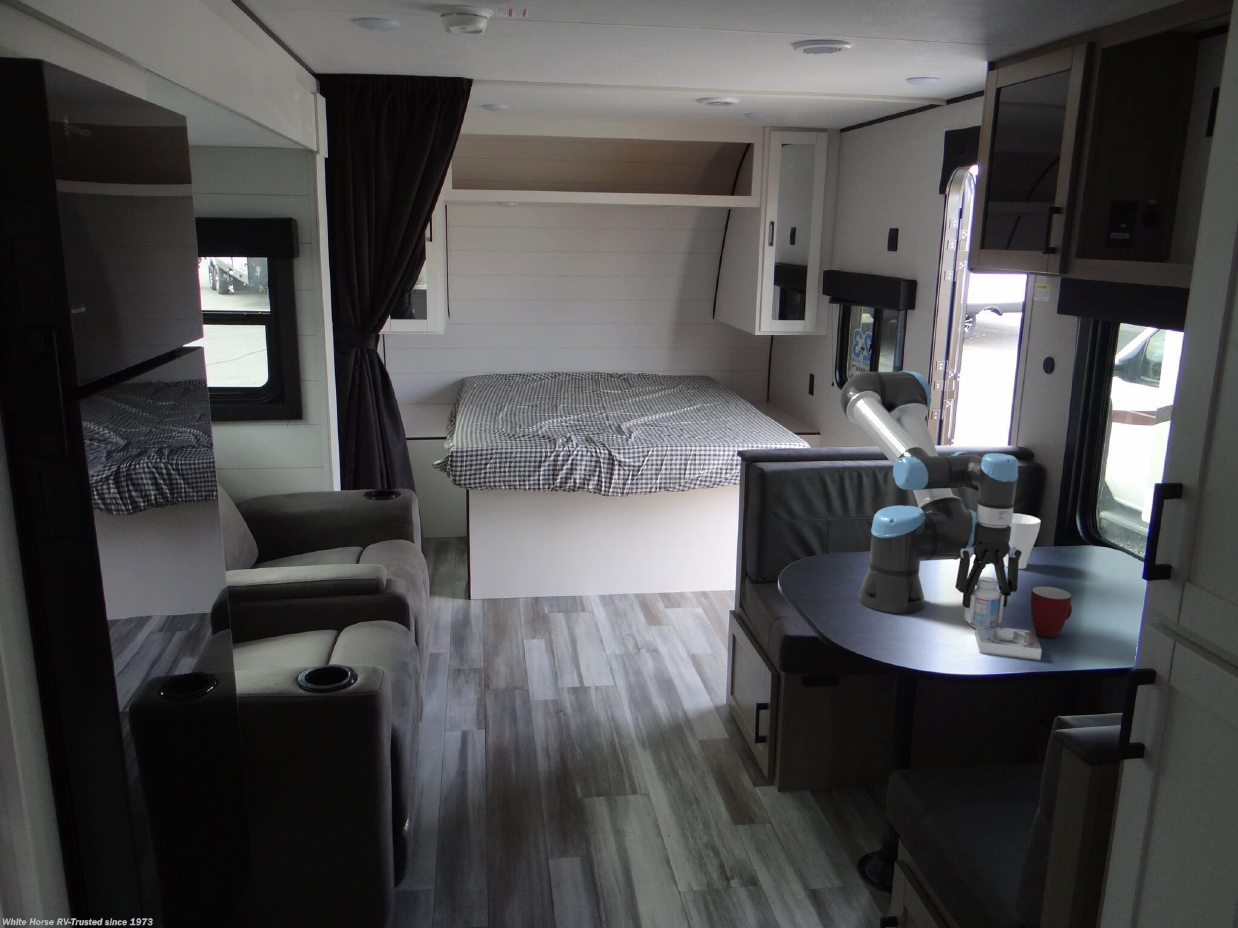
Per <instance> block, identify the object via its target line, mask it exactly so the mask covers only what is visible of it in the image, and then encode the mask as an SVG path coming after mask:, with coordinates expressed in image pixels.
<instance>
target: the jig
mask: <svg viewBox="0 0 1238 928" xmlns="http://www.w3.org/2000/svg"><path fill="white" fill-rule="evenodd" d="M974 636H975V640H976V644H977V648H978V652H979V654H985V655H993V656H1001V657H1010V658H1019V659H1027V660H1034V661H1035V660H1037V661H1041V658H1042V657H1041V656H1042V646H1041V644H1040V642H1039V638H1038V637H1037V633H1036V631H1035V630H1027V629H1019V628H1011V627H1010V628H1009V627H1000V626H996V627H993V626H985V625H976V629H975V634H974ZM1002 641H1005V642H1002ZM1009 642H1011V643H1009ZM1012 642H1013V643H1012Z"/></svg>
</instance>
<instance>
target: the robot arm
mask: <svg viewBox="0 0 1238 928" xmlns="http://www.w3.org/2000/svg"><path fill="white" fill-rule="evenodd" d="M930 387H931V386H930V384H929V383H928V381H927V379H926V377H924V376H923V375H922V374H920V373H918V372H916V371H907V370H900V371H862V372H860V373H857V374H855V375H853V376H852V377H850V378H849V379H848V380H847V381H846V382H845V384H844V385H843V386H842V389H841V392H840V395H839V396H840V397H839V403H840V408H841V409H842V413H843V414H844V415H845V417H846V418H847V419H848V420H849V421H850V422H851V423H853V424H855V425H858V426H859V427H860V428H861V429H862V431H863V432H864V433H865V434H866V435H867V436H868V437H869V438H870V439H871V441H872V442H873V443H874V444H875V445H876V446H877V448H878V449H879V450H880V451H881V452H882V453H883V455H884V456H886V457H887V459H888V460H889V462H891V464H892V465H893V467H892V468H893V469H892V477H893V479H894V480H895V481H894V482H895V484H896V486H897V487H898V488H900V489H901V490H912V491H913V493H914V497H915V499H916V502H917V505H918V506H912V505H891V506H887V507H884V508H881V509H879V510H877V512H876V513H875V514H874V516H873V520H872V526H871V530H870V531H871V540H870V552H869V565H868V566H869V567H868V571H867V572H866V575H865V577H864V580H863V581H862V584H861V587H860V588H859V596H858V600H859V601H860V603H861V604H863V605H864V606H866V607H868V608H870V609H873V610H876V611H879V612H880V611H881V612H885V613H889V614H890V613H891V614H911V613H916V612H919V611H921V610H922V609H924V606H925V605H924V604H925V595H924V591H923V588H922V587H923V585H922V582H921V578H920V566H921V565H920V564H921V562H924V561H925V562H928V561H944V560H955V561H957V560H959V564H958V571H957V575H956V580H955V581H956V582H955V589H956V591H957V590H958V591H959V592H960V593H961V594H962V603H961V605H962V606H963V608H964V616H963V618H964V620H965V621H967V622H968V624H969V623H973V615H974V606H975V595H974V594H973V591H974V589H975V587H976V584H977V582H978V579H979V577H981V574H982V572H983V571H984V570H985V568H986V566H987V565H990V564H992V565H993V566H994V571H995V576H996V580H997V581H998V586H997V587H998V591H999V593H1000V599H999V608H998V618H997V624H998V623H999V624H1000V623H1002V620H1003V613H1004V612H1003V610H1004V608H1006V607H1007V606H1008V599H1009V598H1008V597H1010V596H1011V595H1012V593H1016V592H1018V582H1019V569H1018V565H1019V559H1020V556H1021V554H1022V552H1021V551H1020V550H1018V549H1017V548H1015V547H1013V548H1011V547H1010V546H1009V541H1010V535H1011V527H1010V524H1011V523H1012V517H1013V514H1014V504H1015V498H1016V492H1017V491H1016V490H1017V483H1018V478H1019V473H1018V472H1019V460H1018V458H1016V457H1015V456H1014V455H1010V454H1005V453H998V452H997V453H994V452H991V453H985V454H984V455H983V456H979V455H977V454H976V453H975V454H974V453H973V452H967V451H957V452H954V453H952V454H951V455H939V454H938V452H937V451H938V450H937V449H936V446H935V442H934V441H933V437H932V435H931V433H930V430H929V426H928V425H927V421H926V417H927V416H928V412H929V409H930V407H931V402H932V397H931V395H932V391H931V388H930ZM959 488H960V489H963V488H964V489H965V488H967V489H971V490H974V491H977V492H978V494H977V497H978V498H977V505H976V512H975V511H974V510H972V509H966V508H965V505H964V502H963V500H962V499H961V497H959V496H956V495H954V494H953V492H952V489H959ZM1007 554H1008V556H1009V557H1008V567H1007V573H1006V569H1005V564H1004V559H1003V558H1004V557H1005V556H1006V555H1007ZM974 555H975V556H974ZM973 556H974V559H973V563H972V566H971V569H970V565H971V559H972V558H973ZM969 570H970V571H969Z"/></svg>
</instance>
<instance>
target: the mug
mask: <svg viewBox="0 0 1238 928" xmlns="http://www.w3.org/2000/svg"><path fill="white" fill-rule="evenodd" d="M1072 611H1073V609H1072V594H1071V593H1070V592H1068V591H1066V590H1065V589H1062V588H1057V587H1053V586H1035V587H1033V588H1032V589H1031V594H1030V612H1031V623H1032V626H1033V628H1034V632H1035V634H1036V635H1038V636H1040V637H1042V638H1045V639H1054V638H1056V637H1057V636H1058V635H1059V634H1060V633H1061V631H1062V630H1063V628H1064V627H1065V623H1066V621H1068V619H1070V617H1071V615H1072Z"/></svg>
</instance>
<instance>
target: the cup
mask: <svg viewBox="0 0 1238 928" xmlns="http://www.w3.org/2000/svg"><path fill="white" fill-rule="evenodd" d="M1041 522H1042V521H1041V519H1040V518H1038V517H1035V516H1033V515H1028V514H1022V513H1013V517H1012V523H1011V524H1010V527H1011V535H1010V541H1009V546H1010V547H1011V548H1013V547H1015V548H1017V549H1018V550H1020V551H1021V552H1022V554H1021V556H1020V559H1019V565H1018V570H1025V569H1026V568H1027V564H1028V561H1029V558H1030V554H1031V552H1032V549H1033V547H1034V545H1035V543H1036V540H1037V538H1038V534H1039V532H1040V528H1041ZM1008 557H1009V556H1008V554H1007V555H1006V556H1005V557H1004V558H1003V559H1004V564H1005V567H1006V568H1008ZM1005 567H1004V568H1005Z"/></svg>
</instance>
